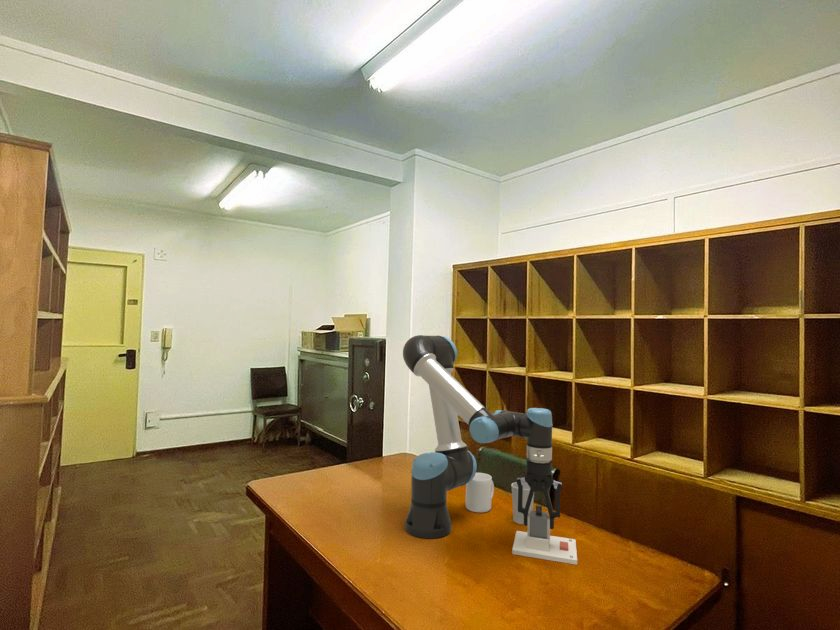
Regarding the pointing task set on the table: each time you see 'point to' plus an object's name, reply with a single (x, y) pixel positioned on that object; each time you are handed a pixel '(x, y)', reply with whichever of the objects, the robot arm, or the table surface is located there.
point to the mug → (479, 493)
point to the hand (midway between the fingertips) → (538, 537)
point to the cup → (519, 516)
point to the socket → (545, 548)
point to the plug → (538, 523)
